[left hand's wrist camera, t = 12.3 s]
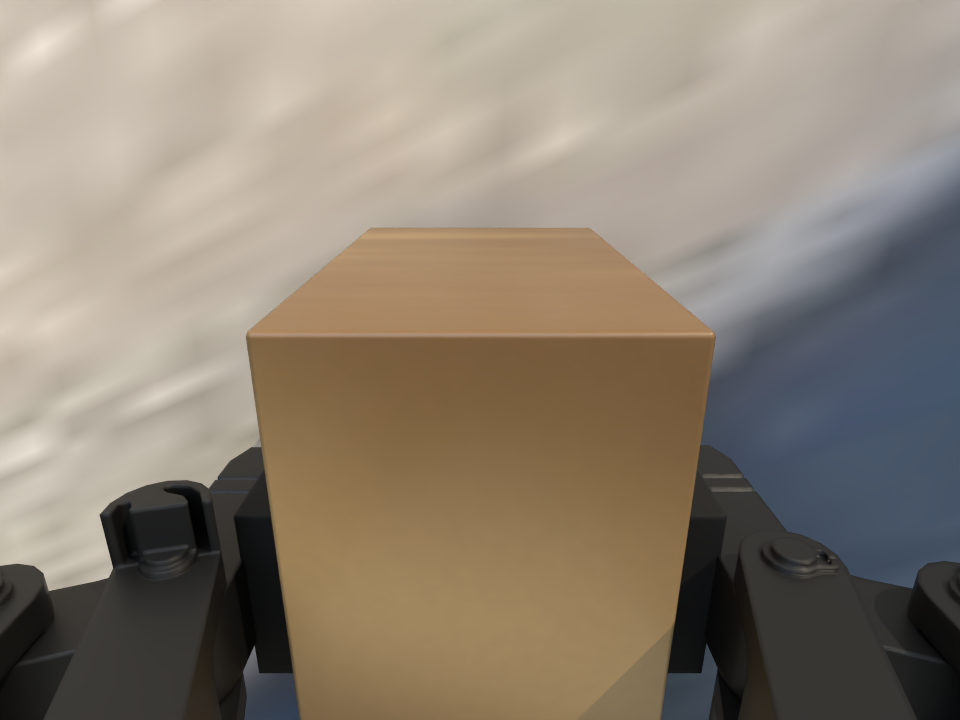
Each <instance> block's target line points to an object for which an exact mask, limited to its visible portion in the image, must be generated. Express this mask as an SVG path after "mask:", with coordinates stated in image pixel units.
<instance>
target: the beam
mask: <svg viewBox="0 0 960 720" xmlns="http://www.w3.org/2000/svg"><path fill="white" fill-rule="evenodd" d="M715 338H716V336H715V333H714V332H713V331H712V330H711V329H710V328H709V327H707V326H706V325H705V324H704V323H703V322H701V321H700V320H699V319H698V318H697V317H695V316H694V315H693V314H692V313H691V312H690V311H688V310H687V309H686V308H685V307H684V306H682V305H681V304H680V303H679V302H678V301H676V300H675V299H674V298H673V297H672V296H670V295H669V294H668V293H667V292H666V291H664V290H663V289H662V288H661V287H660V286H659V285H657V284H656V283H655V282H654V281H653V280H651V279H650V278H649V277H648V276H647V275H645V274H644V273H643V272H642V271H641V270H639V269H638V268H637V267H636V266H635V265H633V264H632V263H631V262H630V261H629V260H627V259H626V258H625V257H624V256H623V255H622V254H620V253H619V252H618V251H617V250H616V249H614V248H613V247H612V246H611V245H610V244H608V243H607V242H606V241H605V240H604V239H602V238H601V237H600V236H599V235H598V234H596V233H595V232H594V231H593V230H592V229H590V228H371V229H369V230H368V231H367V232H365V233H364V234H363V235H362V236H361V237H359V238H358V239H357V240H356V241H355V242H354V243H352V244H351V245H350V246H349V247H348V248H346V249H345V250H344V251H343V252H342V253H340V254H339V255H338V256H337V257H336V258H334V259H333V260H332V261H331V262H330V263H329V264H327V265H326V266H325V267H324V268H323V269H321V270H320V271H319V272H318V273H317V274H315V275H314V276H313V277H312V278H311V279H310V280H308V281H307V282H306V283H305V284H304V285H302V286H301V287H300V288H299V289H298V290H296V291H295V292H294V293H293V294H292V295H291V296H289V297H288V298H287V299H286V300H285V301H283V302H282V303H281V304H280V305H279V306H277V307H276V308H275V309H274V310H273V311H272V312H270V313H269V314H268V315H267V316H266V317H264V318H263V319H262V320H261V321H260V322H258V323H257V324H256V325H255V326H254V327H252V328H251V329H250V330H249V331H248V332H247V335H246V341H247V348H248V355H249V362H250V369H251V376H252V383H253V391H254V398H255V405H256V412H257V419H258V426H259V433H260V440H261V448H262V455H263V462H264V469H265V476H266V483H267V490H268V497H269V505H270V512H271V519H272V526H273V533H274V540H275V547H276V554H277V562H278V569H279V576H280V583H281V590H282V597H283V604H284V611H285V619H286V626H287V633H288V640H289V647H290V654H291V661H292V668H293V676H294V683H295V690H296V697H297V704H298V711H299V718H300V720H661V715H662V708H663V701H664V694H665V687H666V680H667V673H668V666H669V659H670V652H671V645H672V638H673V631H674V625H675V618H676V611H677V604H678V597H679V590H680V583H681V576H682V569H683V562H684V555H685V548H686V541H687V534H688V527H689V520H690V513H691V506H692V499H693V492H694V485H695V478H696V471H697V464H698V457H699V450H700V443H701V436H702V429H703V422H704V415H705V408H706V401H707V394H708V387H709V380H710V373H711V366H712V359H713V352H714V345H715Z"/></svg>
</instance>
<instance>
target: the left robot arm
mask: <svg viewBox="0 0 960 720" xmlns="http://www.w3.org/2000/svg"><path fill="white" fill-rule="evenodd" d="M100 518H101V522H102V526H103V530H104V534H105V538H106V541H107V545H108V549H109V553H110V557H111V561H112V565H113V570H112V572H111V574H110V577H109V578H107V579H103V580H100V581H96V582H91V583H86V584H81V585H77V586H72V587H67V588H62V589H57V590H52V591H48V587H47V584H46V581H45V577H44V574H43V573H42V572H41V571H40V570H38V569H37V568H36V567H34V566H29V565H22V564H12V565H4V566H0V720H244V716H245V708H246V699H247V695H246V688H245V681H244V676H243V670H244V667H245V665H246V663H247V661H248V658H249V656H250V654H251V652H252V649H253V647H254V645H255V650H256V656H257V662H258V668H259V673H293V668H292V661H291V654H290V647H289V640H288V633H287V626H286V619H285V611H284V604H283V597H282V590H281V583H280V576H279V569H278V562H277V554H276V547H275V540H274V533H273V526H272V519H271V512H270V505H269V497H268V490H267V483H266V476H265V469H264V462H263V455H262V448H261V447H251V448H250V449H248V450H247V451H245V452H244V453H242V454H240V455H239V456H237V457H236V458H234V459H233V460H231V461H230V462H229V463H228V464H227V466H226V467H225V468H224V470H223V471H222V472H221V473H220V475H219V476H218V480H215V481H214V483H213V484H212V485H211V486H210V488H209V489H208V488H207V487H206V486H204V485H203V484H201V483H197V482H192V481H188V480H181V481H165V482H160V483H155V484H151V485H146V486H144V487H141V488H139V489H136V490H133V491H131V492H128V493H126V494H124V495H123V496H121V497H120V498H118V499H116V500H115V501H113V502H111V503H110V504H109V505H108V506H107V507H106V508H105V510H104V511H103V512H102V513H101V514H100ZM706 643H707V645H708V647H709V649H710V652H711V654H712V656H713V658H714V660H715V663H716V665H717V667H718V670H717V676H716V681H715V687H714V692H713V698H712V704H711V709H710V715H709V720H960V563H955V562H947V561H942V562H935V563H928V564H926V565H925V566H924V567H923V568H921V569H920V570H919V571H918V574H917V577H916V580H915V584H914V587H913V589H912V588H907V587H902V586H897V585H892V584H887V583H882V582H878V581H873V580H868V579H864V578H860V577H856V576H852V575H850V573H849V571H848V569H847V567H846V566H845V565H844V563H843V562H842V561H841V559H840V558H839V557H838V555H836V554H835V553H834V552H832V551H831V550H830V549H828V548H827V547H825V546H824V545H823V544H821V543H819V542H817V541H814V540H812V539H810V538H808V537H805V536H803V535H800V534H796V533H791V532H787V530H786V529H785V528H784V527H783V525H782V524H781V523H780V521H779V520H778V519H777V518H776V516H775V515H774V514H773V512H772V511H771V510H770V509H769V507H768V506H767V505H766V503H765V502H764V501H763V500H762V498H761V497H760V496H759V494H758V493H757V492H754V488H753V487H752V485H751V484H750V483H749V482H748V480H747V479H746V478H743V474H742V473H741V471H740V470H739V469H738V468H737V466H736V465H735V464H734V462H733V461H732V460H731V459H730V458H728V457H727V456H725V455H724V454H722V453H721V452H719V451H717V450H716V449H714V448H713V447H711V446H709V445H700V450H699V457H698V464H697V471H696V478H695V485H694V492H693V499H692V506H691V513H690V520H689V527H688V534H687V541H686V548H685V555H684V562H683V569H682V576H681V583H680V590H679V597H678V604H677V611H676V618H675V625H674V631H673V638H672V645H671V652H670V659H669V666H668V673H701V672H702V666H703V660H704V654H705V648H706Z"/></svg>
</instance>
